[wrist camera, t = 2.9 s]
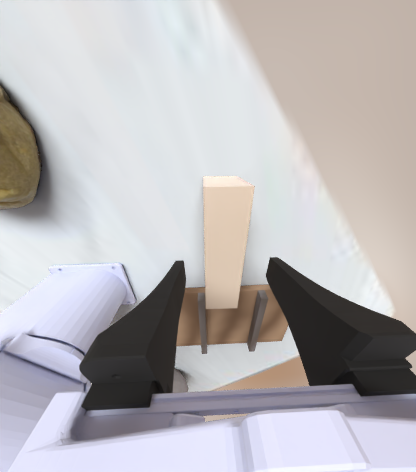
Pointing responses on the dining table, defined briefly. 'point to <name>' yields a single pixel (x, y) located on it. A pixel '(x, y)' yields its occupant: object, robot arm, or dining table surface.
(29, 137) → the pastry
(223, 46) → the dining table surface
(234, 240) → the beige rectangular block
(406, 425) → the robot arm
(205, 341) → the tan panel with rails
